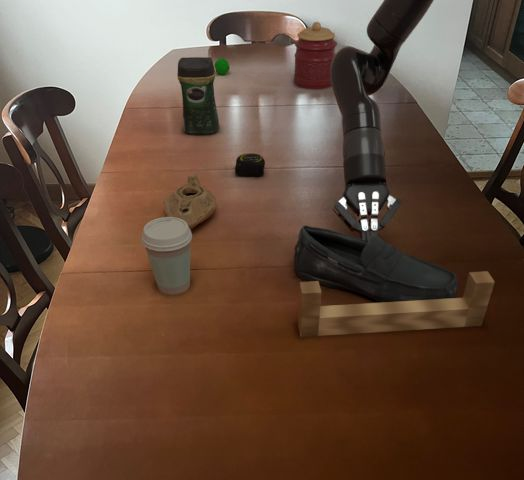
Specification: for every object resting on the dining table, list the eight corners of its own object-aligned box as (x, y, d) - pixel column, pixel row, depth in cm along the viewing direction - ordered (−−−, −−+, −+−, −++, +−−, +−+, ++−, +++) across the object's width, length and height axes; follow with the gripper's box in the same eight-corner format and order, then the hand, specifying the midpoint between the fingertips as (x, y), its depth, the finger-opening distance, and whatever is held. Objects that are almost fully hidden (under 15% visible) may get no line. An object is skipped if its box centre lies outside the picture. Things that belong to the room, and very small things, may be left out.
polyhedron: (232, 74, 197) (232, 58, 194) (222, 77, 194) (221, 62, 191) (222, 71, 199) (221, 55, 196) (211, 74, 197) (210, 59, 194)
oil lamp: (166, 242, 118) (161, 206, 113) (165, 206, 129) (160, 172, 124) (221, 237, 119) (218, 201, 114) (215, 202, 130) (212, 168, 125)
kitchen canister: (285, 83, 189) (286, 22, 177) (313, 74, 195) (315, 14, 184) (315, 93, 182) (317, 30, 170) (343, 83, 188) (347, 21, 176)
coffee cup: (195, 270, 111) (189, 212, 103) (199, 297, 104) (193, 238, 96) (149, 275, 110) (139, 217, 102) (150, 302, 103) (140, 243, 95)
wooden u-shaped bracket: (474, 315, 99) (487, 271, 93) (481, 326, 97) (494, 282, 91) (298, 326, 98) (299, 281, 92) (300, 338, 96) (301, 293, 90)
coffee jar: (220, 125, 163) (216, 53, 151) (217, 136, 158) (212, 62, 145) (185, 125, 164) (178, 53, 152) (181, 136, 158) (173, 62, 146)
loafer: (450, 321, 98) (463, 270, 91) (284, 290, 106) (284, 240, 99) (456, 287, 105) (468, 237, 99) (300, 259, 113) (302, 211, 106)
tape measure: (234, 179, 139) (233, 164, 136) (238, 166, 144) (237, 151, 141) (263, 180, 138) (263, 164, 136) (266, 167, 143) (266, 152, 141)
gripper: (393, 165, 112) (400, 255, 111) (324, 168, 112) (330, 258, 111) (405, 150, 105) (411, 246, 104) (331, 153, 104) (337, 250, 103)
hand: (369, 252), depth 107 cm, fingers closed
